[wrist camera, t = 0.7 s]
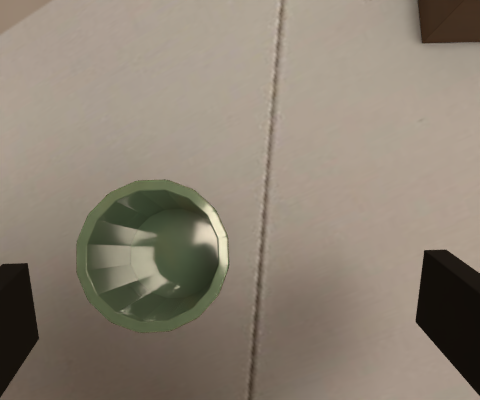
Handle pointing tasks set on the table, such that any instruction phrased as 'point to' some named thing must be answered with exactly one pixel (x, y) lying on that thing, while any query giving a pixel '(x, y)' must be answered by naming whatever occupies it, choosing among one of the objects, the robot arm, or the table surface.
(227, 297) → the table surface
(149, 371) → the table surface
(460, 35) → the block
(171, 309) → the cup
